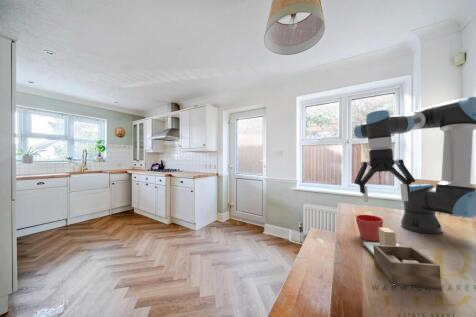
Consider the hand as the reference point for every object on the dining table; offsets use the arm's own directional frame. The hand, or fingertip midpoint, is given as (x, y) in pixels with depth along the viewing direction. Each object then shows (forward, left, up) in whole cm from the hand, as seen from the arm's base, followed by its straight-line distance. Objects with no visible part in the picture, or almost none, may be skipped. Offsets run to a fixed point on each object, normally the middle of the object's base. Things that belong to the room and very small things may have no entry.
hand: (384, 200), depth 74 cm
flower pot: (0, -16, -22) cm, 27 cm away
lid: (0, 0, -21) cm, 21 cm away
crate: (+2, +14, -22) cm, 26 cm away
